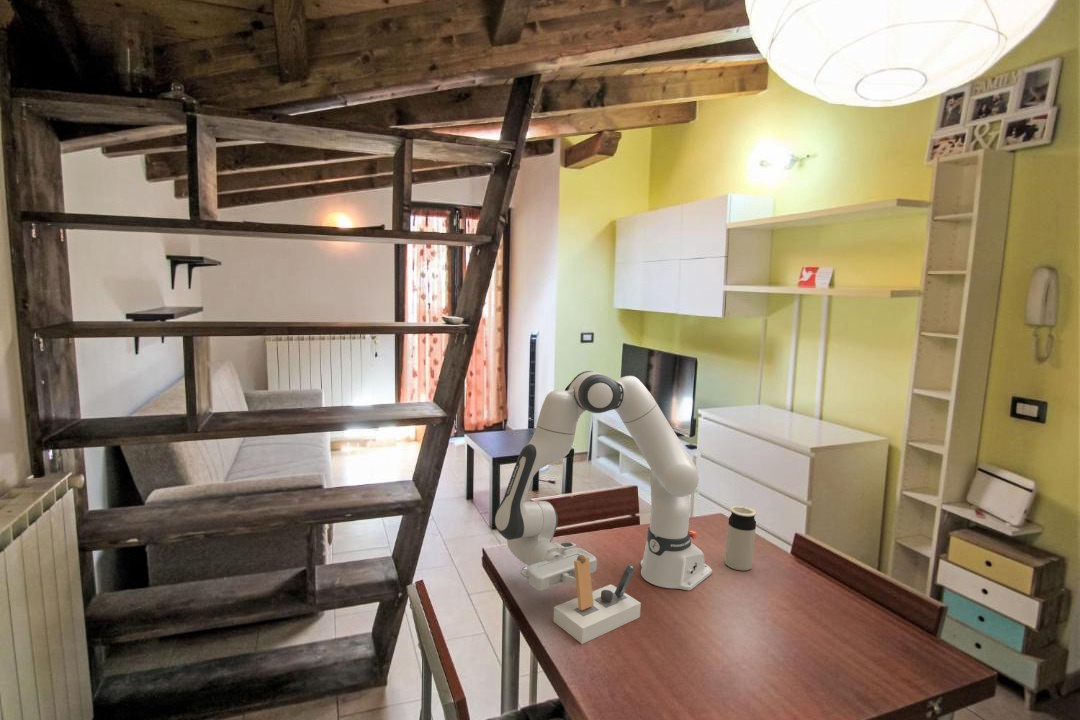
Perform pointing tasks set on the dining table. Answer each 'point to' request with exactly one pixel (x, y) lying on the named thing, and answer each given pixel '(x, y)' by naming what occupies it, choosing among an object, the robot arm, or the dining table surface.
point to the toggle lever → (624, 580)
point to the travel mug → (740, 538)
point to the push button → (606, 595)
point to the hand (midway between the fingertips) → (581, 583)
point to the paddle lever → (583, 582)
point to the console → (596, 615)
